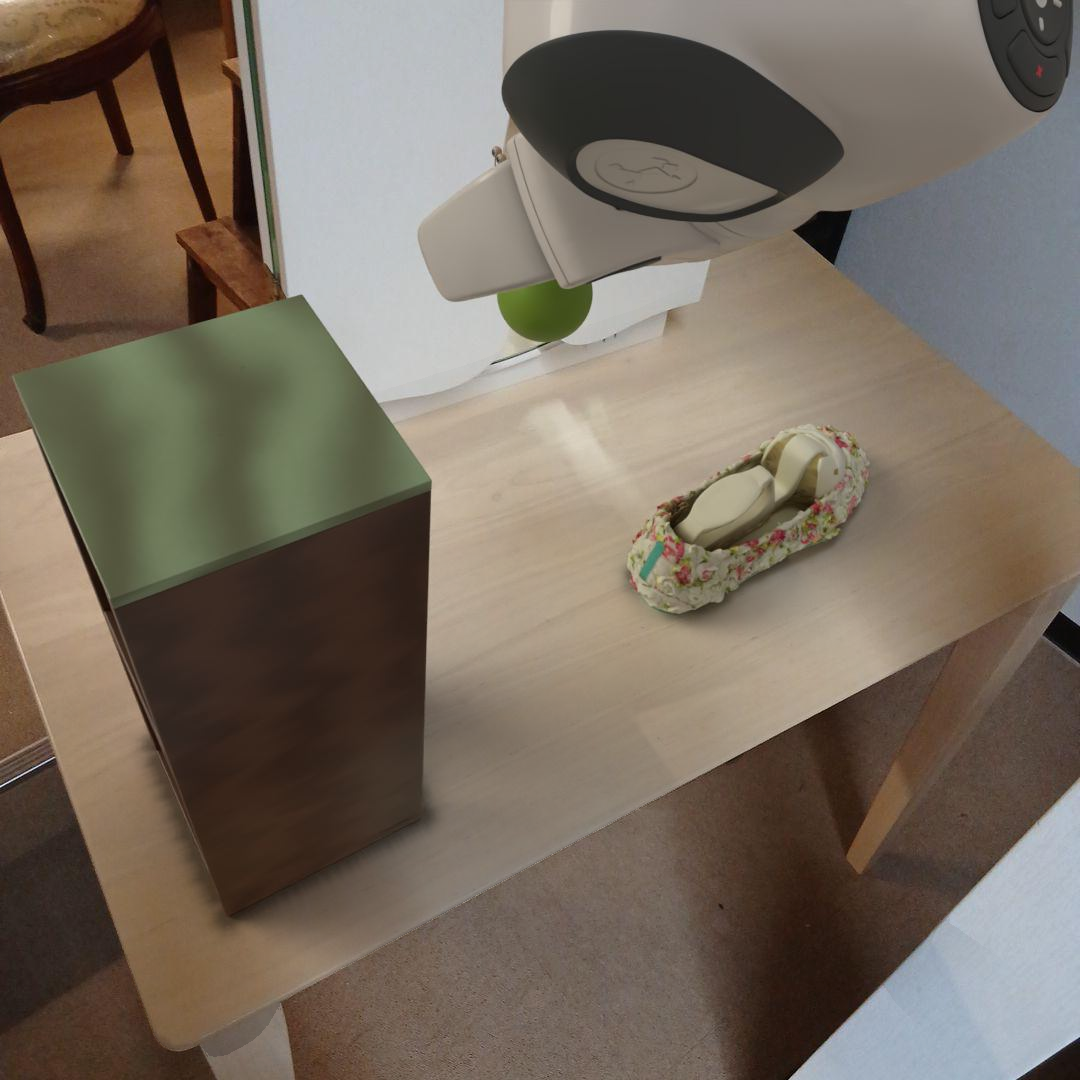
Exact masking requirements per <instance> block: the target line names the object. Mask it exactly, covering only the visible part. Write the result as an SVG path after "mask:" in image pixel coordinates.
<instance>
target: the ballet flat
mask: <svg viewBox="0 0 1080 1080" xmlns="http://www.w3.org/2000/svg"><path fill="white" fill-rule="evenodd" d="M870 464H871V463H870V461H869V460H868V455H867V453H866V451H865V450H863V448H862V447H860V444H859V443H858V441H857V438H856V436H855V435H854V434H851V433H850V432H849V431H845V430H843V431H841V430H838V429H837V428H834V427H833V426H832V425H831V424H827V425H825V424H820V425H817V426H816V425H814V424H812V423H807V424H806V422H803V424H800V425H798V426H796V427H794V426H793V427H791V428H786V429H783V430H781V431H779V432H778V434H776V435H775V436H772V437H770V438H769V439H767V440H764V441H763V442H761V443H760V444H759V445H758V447H756V448H755V449H754V450H751V451H749V452H748V453H746V454H744V455H741V457H740V459H738V460H736V461H735V462H733V463H732V464H729V465H728V466H727V467H726V468H725V469H724V470H723V471H722V472H721V471H717V472H716V475H714V476H712V475H710V476H709V479H707V478H705V479H704V480H703V481H701V482H700V484H699V485H698V486H697V487H696V488H690V489H689V490H687V491H686V492H685V493H684V494H681V495H678V496H674V497H673V498H671V499H670V500H669V501H664V502H663V503H661V504H659V505H657V506H656V512H655V513H654V514H653V515H652V517H651V518H649V519H646V520H645V523H644V525H643V528H642V529H640V530H639V531H637V534H636V535H635V538H634V539H632V540H631V543H632V548H631V551H629V553H628V554H627V559H626V560H627V562H626V564H625V567H626V568H627V570H628V571H629V572H630V576H629V577H630V579H629V583H630V584H631V586H632V587H633V589H634V591H636V593H637V594H638V595H639V596H641V597H642V599H643V600H644V601H645V602H646V603H647V604H648V606H649V607H651V608H653V609H656V610H657V611H661V612H664V613H665V612H666V613H669V614H670V613H671V614H677V615H681V614H682V613H687V612H689V611H691V610H695V611H696V610H697V609H699V608H701V607H702V606H705V605H707V604H709V603H716V604H719V603H721V602H722V601H724V597H725V594H729V591H730V592H733V591H735V590H737V589H738V588H739V585H740V584H741V583H744V581H746V580H749V579H750V578H752V577H753V576H755V575H757V574H758V573H760V572H763V571H765V570H766V569H767V570H768V569H770V567H772V566H774V565H777V563H778V562H779V563H780V562H782V561H783V560H784V559H786V558H787V557H788V556H790V555H793V554H795V553H798V552H800V551H804V550H806V549H808V548H811V547H814V546H816V545H819V544H822V543H824V542H827V541H831V540H832V539H833V538H835V537H837V536H838V535H839V533H840V532H841V531H842V529H841V528H840V527H838V526H839V525H841V524H844V523H845V522H846V520H847V518H848V517H849V516H850V515H851V514H853V509H854V508H855V507H856V508H857V506H858V504H859V503H860V502H861V501H862V496H863V494H864V493H865V488H866V487H868V485H869V483H870V481H869V480H868V479H869V475H870V474H869V468H870Z"/></svg>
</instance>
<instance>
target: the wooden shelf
mask: <svg viewBox="0 0 1080 1080" xmlns="http://www.w3.org/2000/svg"><path fill="white" fill-rule="evenodd" d="M309 303H310V302H308V301H307V299H306V298H305V296H304V294H297V295H293V296H290V297H287V298H283V299H280V300H276V301H272V302H268V303H266V304H262V305H258V306H254V307H251V308H248V309H243V310H240V311H237V312H233V313H229V314H226V315H222V316H219V317H216V318H211V319H209V320H208V319H207V320H204V321H200V322H197V323H194V324H190V325H186V326H183V327H179V328H175V329H172V330H168V331H165V332H162V333H158V334H154V335H151V336H147V337H143V338H140V339H136V340H132V341H129V342H125V343H122V344H118V345H115V346H112V347H111V346H110V347H108V348H105V349H101V350H97V351H93V352H90V353H87V354H86V353H85V354H83V355H80V356H75V357H72V358H68V359H65V360H61V361H57V362H54V363H50V364H47V365H43V366H40V367H36V368H32V369H29V370H26V371H22V372H17V373H14V374H12V375H11V378H12V380H13V383H14V385H15V388H16V392H17V393H18V396H19V399H20V401H21V404H22V407H23V410H24V413H25V415H26V418H27V419H28V422H29V424H30V427H31V429H32V433H33V435H34V437H35V440H36V443H37V446H38V448H39V451H40V454H41V456H42V458H43V461H44V465H45V467H46V469H47V471H48V475H49V478H50V479H51V482H52V485H53V488H54V490H55V493H56V495H57V497H58V500H59V503H60V505H61V508H62V511H63V513H64V516H65V519H66V521H67V524H68V526H69V529H70V532H71V534H72V537H73V539H74V543H75V544H76V547H77V550H78V553H79V555H80V557H81V561H82V564H83V565H84V568H85V570H86V573H87V576H88V578H89V581H90V584H91V586H92V589H93V592H94V594H95V597H96V600H97V602H98V604H99V607H100V609H101V613H102V615H103V617H104V620H105V623H106V626H107V628H108V631H109V633H110V636H111V638H112V641H113V643H114V646H115V650H116V652H117V654H118V656H119V659H120V662H121V664H122V667H123V669H124V672H125V675H126V677H127V680H128V682H129V685H130V688H131V691H132V693H133V696H134V699H135V702H136V703H137V707H138V709H139V712H140V714H141V717H142V719H143V722H144V724H145V727H146V729H147V733H148V735H149V737H150V740H151V743H152V745H153V747H154V750H155V752H156V755H157V757H158V759H159V762H160V765H161V766H162V769H163V772H164V774H165V776H166V778H167V781H168V783H169V785H170V787H171V790H172V792H173V795H174V797H175V799H176V801H177V804H178V806H179V809H180V811H181V814H182V816H183V818H184V820H185V822H186V825H187V827H188V830H189V832H190V835H191V836H192V839H193V841H194V844H195V846H196V849H197V852H198V853H199V856H200V858H201V860H202V863H203V865H204V868H205V870H206V872H207V874H208V876H209V879H210V882H211V884H212V887H213V889H214V891H215V894H216V896H217V898H218V900H219V903H220V905H221V906H222V910H223V912H224V914H225V916H226V917H230V916H232V915H234V914H236V913H238V912H240V911H242V910H244V909H245V908H248V907H250V906H252V905H254V904H255V903H258V902H259V901H261V900H264V899H266V898H268V897H269V896H271V895H274V894H275V893H277V892H279V891H281V890H283V889H285V888H287V887H289V886H291V885H293V884H296V883H297V882H299V881H300V880H302V879H303V880H304V879H305V878H307V877H309V876H311V875H312V874H314V873H316V872H319V871H320V870H322V869H325V868H327V867H328V866H330V865H333V864H334V863H337V862H338V861H340V860H342V859H344V858H346V857H348V856H350V855H353V854H354V853H357V852H358V851H360V850H362V849H364V848H366V847H368V846H369V845H372V844H374V843H375V842H377V841H379V840H381V839H384V838H385V837H387V836H390V835H391V834H394V833H395V832H398V831H399V830H401V829H403V828H405V827H407V826H409V825H411V824H413V823H415V822H417V821H419V820H421V819H422V818H423V791H424V788H423V787H424V757H425V756H424V753H425V721H426V720H425V719H426V688H427V687H426V686H427V685H426V684H427V649H428V615H429V581H430V574H429V573H430V550H431V549H430V545H431V514H432V513H431V512H432V511H431V509H432V489H433V486H432V485H433V480H432V478H431V476H430V475H429V474H428V473H427V471H426V470H425V468H424V466H423V465H422V464H421V462H420V461H419V460H418V458H417V457H416V455H415V453H414V452H413V451H412V449H411V448H410V447H409V445H408V443H406V441H405V440H404V438H403V437H402V435H401V434H400V432H399V431H398V429H397V428H396V426H395V424H393V422H392V421H391V420H390V418H389V417H388V415H387V413H386V412H385V411H384V409H383V408H382V406H381V405H380V403H379V402H378V400H377V399H376V397H375V396H374V395H373V394H372V392H371V391H370V389H369V387H368V386H367V385H366V383H365V382H364V381H363V379H362V378H361V376H360V375H359V373H358V372H357V371H356V369H355V368H354V367H353V364H352V363H351V362H350V361H349V359H348V358H347V357H346V354H344V352H343V350H342V349H341V347H340V346H339V345H338V344H337V342H336V340H335V339H334V338H333V336H332V335H331V334H330V332H329V331H328V329H327V328H326V326H325V325H324V323H323V322H322V320H321V319H320V317H319V316H318V314H317V313H316V312H315V311H314V309H313V308H312V306H311V305H310V304H309Z"/></svg>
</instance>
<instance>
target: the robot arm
mask: <svg viewBox="0 0 1080 1080" xmlns="http://www.w3.org/2000/svg"><path fill="white" fill-rule="evenodd" d="M502 25H503V26H502V49H501V51H502V52H501V73H502V74H501V75H502V82H501V91H500V92H501V99H502V102H503V107H504V108H505V110H506V112H507V114H508V115H509V117H510V119H511V120H512V122H513V124H514V125H515V127H516V128H517V129H518V131H519V132H517V133H515V134H514V135H513V136H512V137H511V138H510V139H509V140H508V141H507V142H506V150H507V154H508V158H507V160H505V161H503V162H501V163H499V164H498V163H497V164H496V166H495V165H493V167H491V168H490V169H487V170H486V171H484V172H483V173H481V174H480V175H479V176H477V177H476V178H474V179H473V180H472V181H470V182H469V183H467V184H466V185H465V186H463V187H462V188H461V189H460V190H458V191H457V192H455V194H453V195H452V196H451V197H449V198H447V200H446V201H445V202H443V203H441V205H439V206H438V207H437V208H436V209H434V210H433V211H432V212H430V214H429V215H427V216H426V217H425V218H424V219H423V220H422V221H421V223H420V224H419V226H418V228H417V241H418V245H419V249H420V252H421V255H422V258H423V260H424V263H425V265H426V268H427V270H428V273H429V276H430V277H431V280H432V281H433V284H434V285H435V287H436V289H437V291H438V293H439V294H440V296H442V298H443V299H444V300H446V301H448V302H451V303H460V302H467V301H470V300H475V299H480V298H484V297H485V298H486V297H489V296H495V295H497V294H499V293H503V292H508V291H512V290H516V289H520V288H524V287H529V286H532V285H536V284H540V283H544V282H548V281H551V280H555V279H556V280H557V282H558V284H559V286H560V287H561V288H563V289H571V288H574V287H577V286H579V285H582V284H585V283H586V284H590V283H592V284H593V283H595V282H597V281H600V280H603V279H605V278H608V277H611V276H614V275H619V274H623V273H625V272H626V273H627V272H631V271H636V270H638V269H639V270H640V269H642V268H645V267H658V266H670V265H680V264H684V263H687V264H689V263H690V264H691V263H701V262H706V261H709V260H712V259H716V258H719V257H722V256H725V255H727V254H730V253H733V252H736V251H739V250H742V249H744V248H747V247H750V246H753V245H756V244H759V243H762V242H765V241H768V240H771V239H774V238H777V237H780V236H783V235H785V234H787V233H789V232H792V231H794V230H796V229H798V228H799V227H800V226H802V225H804V224H805V223H807V222H808V221H809V220H810V219H811V218H812V217H814V216H815V215H816V214H817V213H818V212H846V211H854V210H857V209H860V208H864V207H867V206H871V205H873V204H876V203H879V202H882V201H885V200H887V199H890V198H893V197H896V196H898V195H902V194H903V193H906V192H909V191H911V190H913V189H916V188H919V187H921V186H923V185H926V184H928V183H931V182H933V181H935V180H938V179H941V178H942V177H945V176H947V175H950V174H951V173H953V172H956V171H957V170H960V169H962V168H964V167H967V166H969V165H971V164H973V163H975V162H976V161H979V160H981V159H983V158H985V157H987V156H988V155H990V154H992V153H994V152H996V151H998V150H999V149H1002V148H1003V147H1005V146H1007V145H1008V144H1010V143H1011V142H1013V141H1015V140H1016V139H1019V138H1020V137H1021V136H1022V135H1023V134H1025V133H1027V132H1028V131H1030V130H1031V129H1032V128H1034V127H1035V126H1036V125H1038V124H1039V123H1040V122H1041V121H1042V120H1043V119H1044V118H1046V117H1047V116H1048V115H1049V113H1050V112H1051V111H1052V110H1053V108H1054V107H1055V106H1056V104H1057V102H1058V101H1059V99H1060V97H1061V96H1062V93H1063V92H1064V91H1063V90H1064V86H1065V83H1066V80H1067V78H1068V77H1069V74H1070V68H1071V59H1072V51H1073V49H1072V48H1073V38H1074V0H503V21H502Z"/></svg>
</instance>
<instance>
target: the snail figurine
mask: <svg viewBox="0 0 1080 1080" xmlns="http://www.w3.org/2000/svg"><path fill="white" fill-rule="evenodd" d="M491 155H492V157H493V158H494V166H496V165H498V164H499V163H501V162H503V161H505V160H507V159H508V157H507V155H506V154H504V153H503V150H502V148H501V146H498V145H495V146H494V147H492V148H491ZM593 290H594V289H593V282H592V283H590V284H586V283H585V284H582V285H579V286H577V287H574V288H571V289H563V288H561V287H560V286H559V284H558V282H557V280H556V279H555V280H551V281H548V282H544V283H540V284H536V285H532V286H529V287H524V288H520V289H516V290H512V291H508V292H503V293H499V294H496V300H497V305H498V309H499V312H500V314H501V316H502V318H503V320H504V321H505V323H506V324H507V325H508V327H509V328H510V329H511V330H512V331H513V332H515V333H516V334H517V335H519V336H520V337H522V338H524V339H527V340H529V341H533V342H537V343H554V342H557V341H561V340H563V339H566V338H567V337H569V336H571V335H573V334H574V333H575V332H576V331H578V329H579V328H580V327H582V325H583V324H584V322H585V321H586V319H587V317H588V316H589V313H590V311H591V307H592V304H593V298H594V297H593V296H594V291H593Z"/></svg>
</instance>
